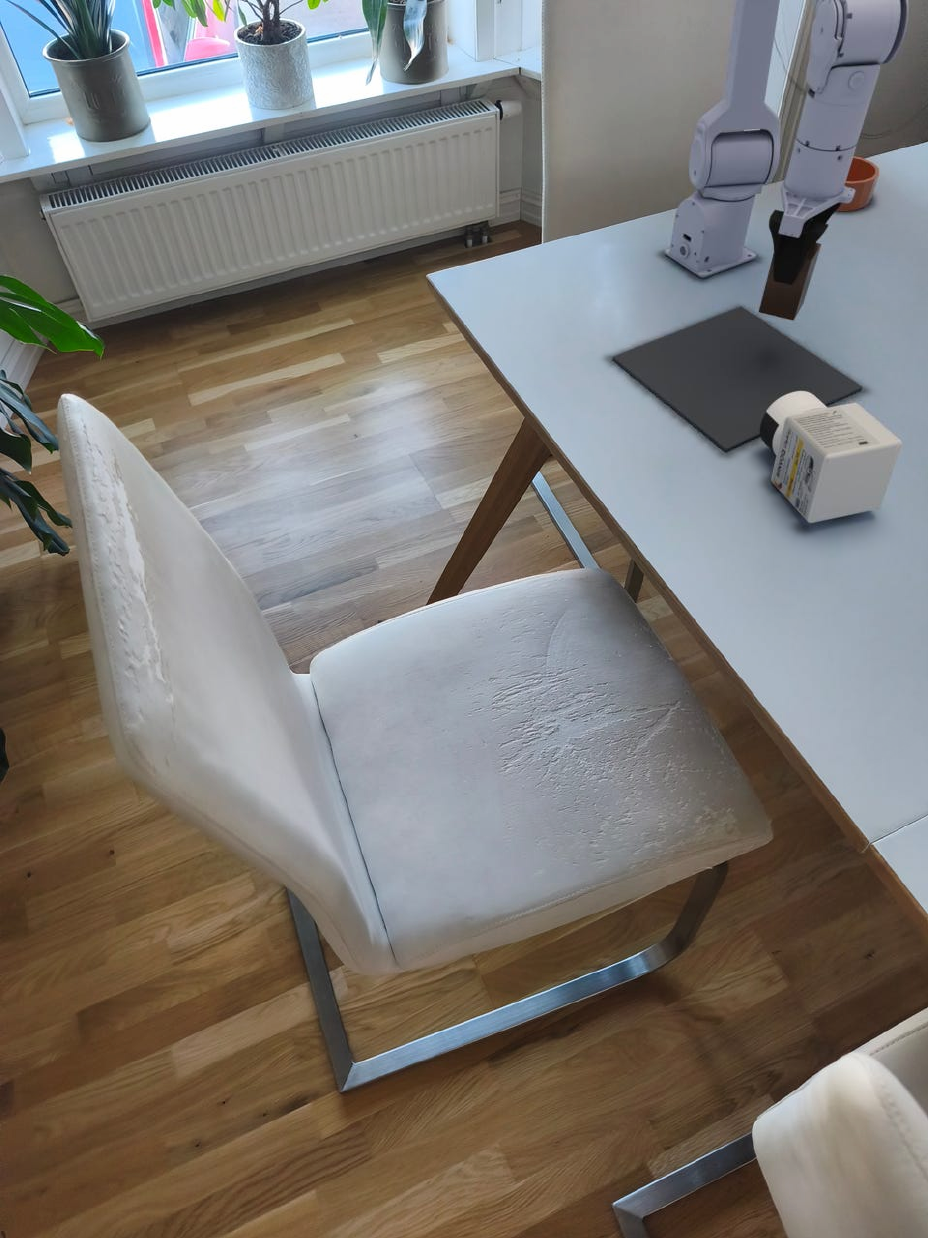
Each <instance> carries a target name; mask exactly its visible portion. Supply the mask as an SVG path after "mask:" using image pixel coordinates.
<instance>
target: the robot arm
mask: <svg viewBox="0 0 928 1238" xmlns="http://www.w3.org/2000/svg"><path fill="white" fill-rule="evenodd" d="M734 1H735V2H734V10H733V16H732V24H731V33H730V39H729V41H730V42H729V48H728V56H727V65H726V73H725V80H724V88H723V96H722V99H721V100H720V101H719V102H718V103H716V104H715V105H714V106H713V107H712V108H711V109H709V110H708V111H707V112H706V113H704V114H703V115H702V116H701V117H700V118H699V119H698V120H697V124H696V126H695V132H694V137H693V142H692V144H691V147H690V152H689V157H688V159H689V160H688V172H689V174H688V175H689V180H690V182H691V184H692V185H693V188H695V191H694V192H693V193H692V194H691V195H690V196H689V197H687V198H685V199H683V200H682V201H681V202H680V203H679V204H678V206H677V208H676V211H675V214H674V221H673V227H672V234H671V241H670V245H669V248H666V249H665V250H664V254H665V255H666V256H668V257H669V258H671V259H672V260H674V261H675V262H677V263H678V264H679V265H681V266H683V267H684V268H686V269H687V270H689V271H691V272H692V273H694V274H695V275H697V276H698V277H699V278H707V277H710V276H712V275H715V274H717V273H721V272H722V271H726V270H728V269H731V268H733V267H736V266H739V265H742V264H745V263H746V262H750V261H752V260H755V259H756V257H757V254H756V253H754V252H753V251H751V250H750V249H748V248H747V247H744V246H745V243H746V238H747V233H748V230H749V226H750V220H751V218H752V217H751V216H752V212H753V208H754V204H755V200H756V195H760V194H762V191H763V187H764V186H767V185H769V184H770V182H771V181H772V180H773V178H774V177H775V176H776V174H777V171H778V168H779V165H780V159H781V143H780V141H781V140H780V139H781V129H782V121H781V118H780V117H779V115H778V114H777V113H776V112H775V111H774V110H773V109H772V108H771V107H770V106H769V105H768V104H766V102H765V101H766V100H765V99H766V94H767V88H768V80H769V75H770V70H771V69H770V68H771V63H772V54H773V49H774V43H775V36H776V29H777V23H778V16H779V9H780V3H781V0H734ZM811 3H812V7H813V10H814V15H815V18H814V19H813V21H812V26H811V32H810V38H809V59H808V64H807V67H806V71H805V75H806V78H805V82H806V83H807V84H808V89H807V93H806V97H805V100H804V104H803V109H802V111H801V116H800V120H799V124H798V127H797V132H796V136H795V139H794V144H793V148H792V151H791V155H790V159H789V163H788V167H787V171H786V175H785V178H784V179H783V180H782V182H781V186H780V196H781V202H782V208H783V210H780V209H774V210H773V212H772V213H771V214H770V216H769V219H768V228H769V231H770V232H769V233H770V234H771V238H772V244H773V254H774V266H773V278H774V281H776V282H780V283H784V284H788V285H792V284H793V283H794V281H795V280H796V278H797V276H798V274H799V273H800V271H801V268H802V266H803V264H804V262H805V260H806V257H807V255H808V253H809V251H810V250H811V248H812V246H813V245H814V244H815V243H818V241H819V239H820V238H821V237H822V236H823V235H824V234H825V233H826V231H827V229H828V227H829V224H828V223H827V222H828V221H829V220H830V218H831V217H832V216H833V215H834V214H835V212H836V210H837V209H838V208H839V207H840V205H841V204H842V203H850V202H851V201H852V199H853V197H854V194H855V189H853V188H848V187H846V186H845V182H846V179H847V175H848V172H849V169H850V166H851V162H852V159H853V156H855V152H856V149H857V146H858V142H859V139H860V136H861V132H862V130H863V126H864V123H865V120H866V116H867V113H868V110H869V107H870V103H871V100H872V98H873V94H874V91H875V87H876V85H877V82H878V78H879V75H880V71H881V64H882V65H886V64H889V63H891V61H892V60H894V58H895V57H896V55H897V54H898V52H899V50H900V49H901V46H902V44H903V42H904V39H905V35H906V32H907V28H908V21H909V12H910V11H909V0H811Z"/></svg>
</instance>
